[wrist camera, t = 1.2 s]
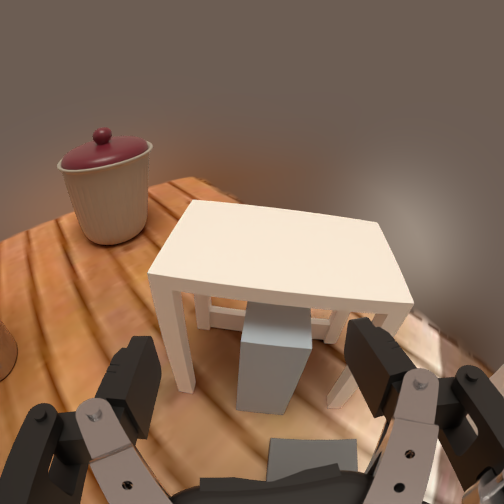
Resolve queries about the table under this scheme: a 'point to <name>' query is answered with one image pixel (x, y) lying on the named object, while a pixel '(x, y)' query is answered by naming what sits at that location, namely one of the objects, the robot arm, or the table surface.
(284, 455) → the mat
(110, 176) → the canister
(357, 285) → the rack
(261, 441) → the table surface
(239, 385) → the blank
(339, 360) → the table surface
